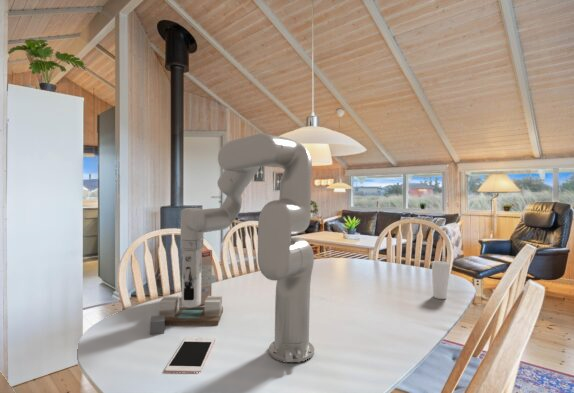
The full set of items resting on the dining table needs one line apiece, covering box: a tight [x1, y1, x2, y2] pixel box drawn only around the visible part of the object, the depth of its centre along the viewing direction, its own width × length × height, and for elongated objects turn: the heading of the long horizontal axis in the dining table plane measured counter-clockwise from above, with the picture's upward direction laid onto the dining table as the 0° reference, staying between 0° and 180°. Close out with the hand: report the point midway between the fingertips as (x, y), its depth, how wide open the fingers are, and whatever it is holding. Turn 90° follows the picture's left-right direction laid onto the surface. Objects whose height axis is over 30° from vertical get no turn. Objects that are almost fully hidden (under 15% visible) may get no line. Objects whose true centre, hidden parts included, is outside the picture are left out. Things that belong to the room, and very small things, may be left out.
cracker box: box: [182, 247, 213, 306], centre depth 134 cm, size 14×6×21 cm, turn 43°
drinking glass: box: [431, 260, 450, 300], centre depth 143 cm, size 7×7×15 cm
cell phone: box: [164, 337, 216, 374], centre depth 92 cm, size 9×18×1 cm, turn 0°
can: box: [180, 273, 201, 308], centre depth 116 cm, size 6×6×12 cm
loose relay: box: [149, 315, 166, 336], centre depth 106 cm, size 5×4×4 cm
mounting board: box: [158, 295, 224, 326], centre depth 116 cm, size 12×20×6 cm, turn 93°
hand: (191, 295), depth 116 cm, fingers closed on can, 6 cm apart
